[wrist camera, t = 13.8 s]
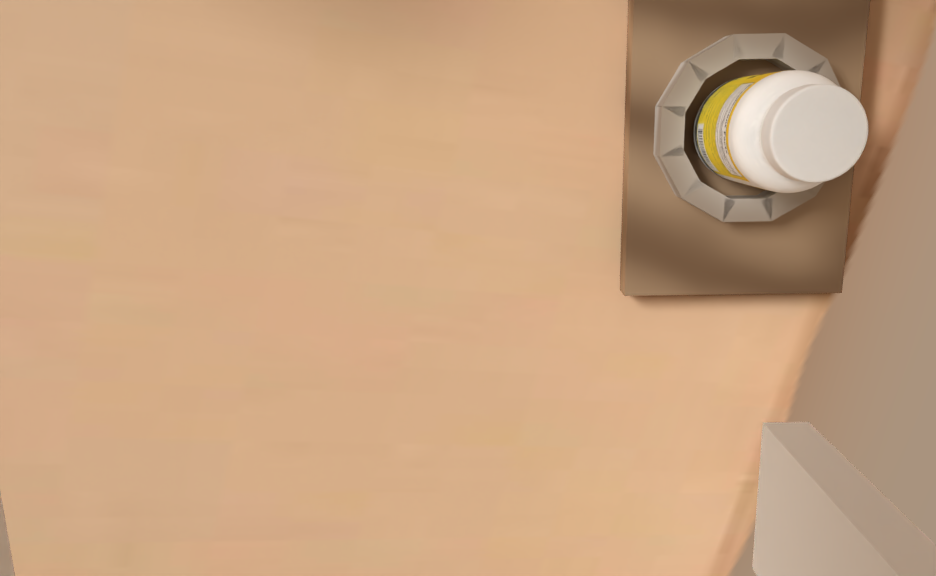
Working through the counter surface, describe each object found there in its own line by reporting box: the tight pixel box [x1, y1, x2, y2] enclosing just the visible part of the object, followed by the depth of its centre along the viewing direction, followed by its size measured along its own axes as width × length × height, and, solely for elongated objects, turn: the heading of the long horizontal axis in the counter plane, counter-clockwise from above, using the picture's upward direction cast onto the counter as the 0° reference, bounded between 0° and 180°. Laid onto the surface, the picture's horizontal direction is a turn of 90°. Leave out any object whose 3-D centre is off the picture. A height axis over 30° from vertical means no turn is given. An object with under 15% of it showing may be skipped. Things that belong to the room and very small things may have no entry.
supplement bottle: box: [693, 70, 868, 193], centre depth 37 cm, size 5×5×10 cm
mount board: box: [620, 0, 870, 296], centre depth 41 cm, size 18×12×3 cm, turn 1°
